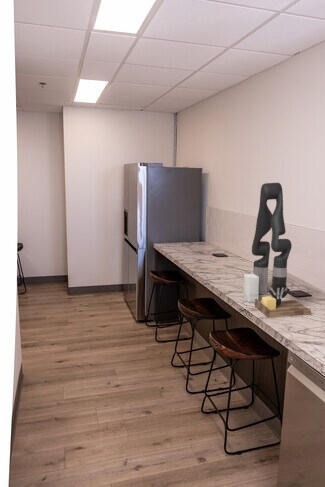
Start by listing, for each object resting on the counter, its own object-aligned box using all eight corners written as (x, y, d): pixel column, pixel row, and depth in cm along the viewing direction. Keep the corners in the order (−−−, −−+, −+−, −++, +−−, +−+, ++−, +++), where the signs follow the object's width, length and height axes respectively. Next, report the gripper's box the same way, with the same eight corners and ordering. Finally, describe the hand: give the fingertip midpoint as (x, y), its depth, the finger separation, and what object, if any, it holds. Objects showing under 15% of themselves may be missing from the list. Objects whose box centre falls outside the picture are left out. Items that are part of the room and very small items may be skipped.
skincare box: (258, 302, 223) (259, 277, 220) (247, 302, 222) (249, 277, 219) (252, 297, 231) (254, 273, 228) (242, 298, 230) (243, 273, 227)
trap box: (254, 306, 216) (255, 298, 215) (294, 304, 220) (295, 296, 219) (267, 317, 200) (268, 309, 199) (310, 314, 204) (311, 306, 203)
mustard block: (261, 306, 209) (262, 296, 208) (270, 305, 210) (271, 296, 209) (266, 309, 204) (266, 300, 203) (275, 309, 205) (276, 299, 204)
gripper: (287, 272, 210) (285, 302, 213) (265, 273, 208) (263, 303, 211) (294, 276, 203) (292, 306, 206) (271, 277, 201) (269, 308, 204)
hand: (277, 304), depth 209 cm, fingers closed
